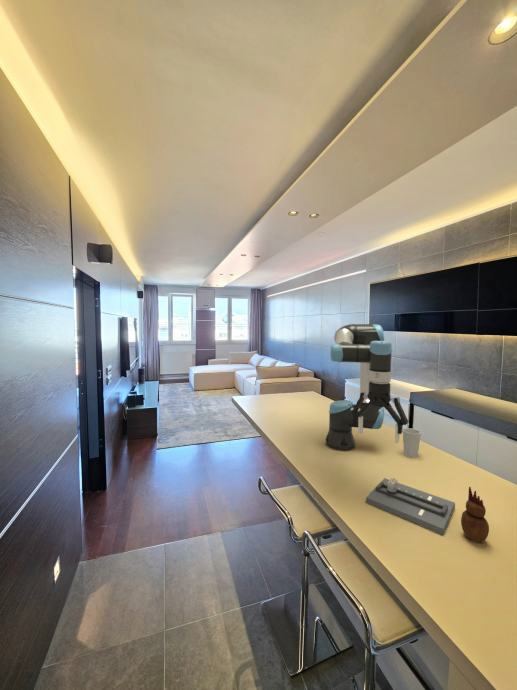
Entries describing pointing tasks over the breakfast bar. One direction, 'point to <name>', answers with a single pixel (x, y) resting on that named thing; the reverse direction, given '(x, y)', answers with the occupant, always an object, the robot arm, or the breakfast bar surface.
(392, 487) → the fader
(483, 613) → the breakfast bar surface
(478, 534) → the wooden figurine
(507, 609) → the breakfast bar surface
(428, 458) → the breakfast bar surface
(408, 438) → the cup
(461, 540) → the breakfast bar surface
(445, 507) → the console
